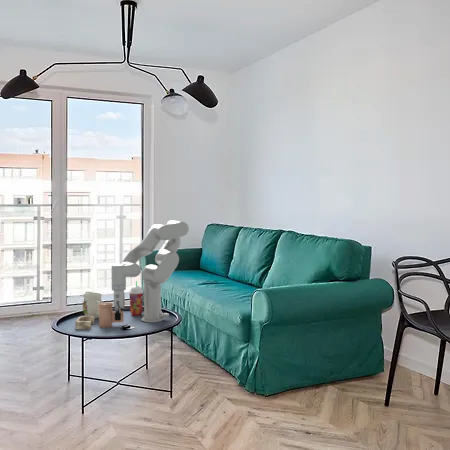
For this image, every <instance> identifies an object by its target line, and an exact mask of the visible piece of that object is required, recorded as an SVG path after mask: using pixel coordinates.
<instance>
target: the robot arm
mask: <svg viewBox="0 0 450 450" xmlns="http://www.w3.org/2000/svg"><path fill="white" fill-rule="evenodd" d="M189 229H190V228H189V225H188V223H187V222H185V221H181V220H169V221H167V223H166V224H161V223H157V224H156V223H155V224H153V225H152V226H151V227H150V228H149V230H148V231H147V232H146V233H145V235H144V237H143V239H141V241H140V243H139V244H137V246H135V247H134V248H133V249H132V250H130V252H128V253H127V255H126V256H125V257H124V259H123V260H122V262H121V263H114V264H112V266H111V291H113V309H114V311H115V320H121V313H120V311H123V312H124V308H125V306H126V305H125V304H126V302H125V298H126V297H125V291H126V288H127V284H126V283H127V281H126V280H127V279H126V278H135V277H138V276H140V274H141V275H142V281H143V291H144V292H143V316H142V317H141V318H140V320H141V321H142V322H144V323H159V322H162V321H163V320H165V319H164V317H165V318H168V317H170V316H169V315H170V313H167V312H163V311H162V288H161V285H162V284H165V283H166V282H167V281H168V279H169V278H170V277H171V276H172V274H173V273H174V272H175V270H176V268H177V267H178V264H179V262H180V256H179V255H178V253H177V251H178V250H179V248H180V247H181V246H180V245H181V238H182V237H184V236H186V235H187V234H188V233H189ZM161 240H162V241H165V242H164V244H163V245H162V246H161V247H160V249H159V250H158V252H157V253H156V254H155V258H154V261H155V263H156V264H157V265H156V264H148V265H146V266H144V268H143V269H141V268H142V267H141V266H140V265H139V264H138V262H139V261H140V260H141V259H142V258H143V257H146V256H149V255H151V254H152V253H153V252H154V251H155V249H156V248H157V246H158V245H159V243H160V242H161ZM141 272H142V273H141Z"/></svg>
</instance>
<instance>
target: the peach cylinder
mask: <svg viewBox="0 0 450 450" xmlns="http://www.w3.org/2000/svg"><path fill="white" fill-rule="evenodd" d="M98 306H99V318H98V327H99V328H103V329H107V328H108V329H109V328H111V327H113V324H114V323H116V324H117V323H124V322H125V320H124V310H123V311H120V313H121V320H115V310H113V307H114V303H112V302H102V303H100V304H98Z"/></svg>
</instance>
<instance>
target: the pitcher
mask: <svg viewBox="0 0 450 450" xmlns="http://www.w3.org/2000/svg"><path fill="white" fill-rule="evenodd" d="M82 297H83V302H82V312H83V313H84V316H94V320H95V319H96V320H97V319H99V306H98V304H100V303H103V301H102V294H101V293H99V292H92V291H85V292H84V294H83V295H82Z"/></svg>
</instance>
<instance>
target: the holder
mask: <svg viewBox="0 0 450 450" xmlns="http://www.w3.org/2000/svg"><path fill="white" fill-rule="evenodd" d="M74 324H75V325H74V328H75V329H74V330H91V329H92V325H94V324H95V319H94V316H85V315H83V316H82V315H81V316H78V317H77V319H75V321H74Z"/></svg>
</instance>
